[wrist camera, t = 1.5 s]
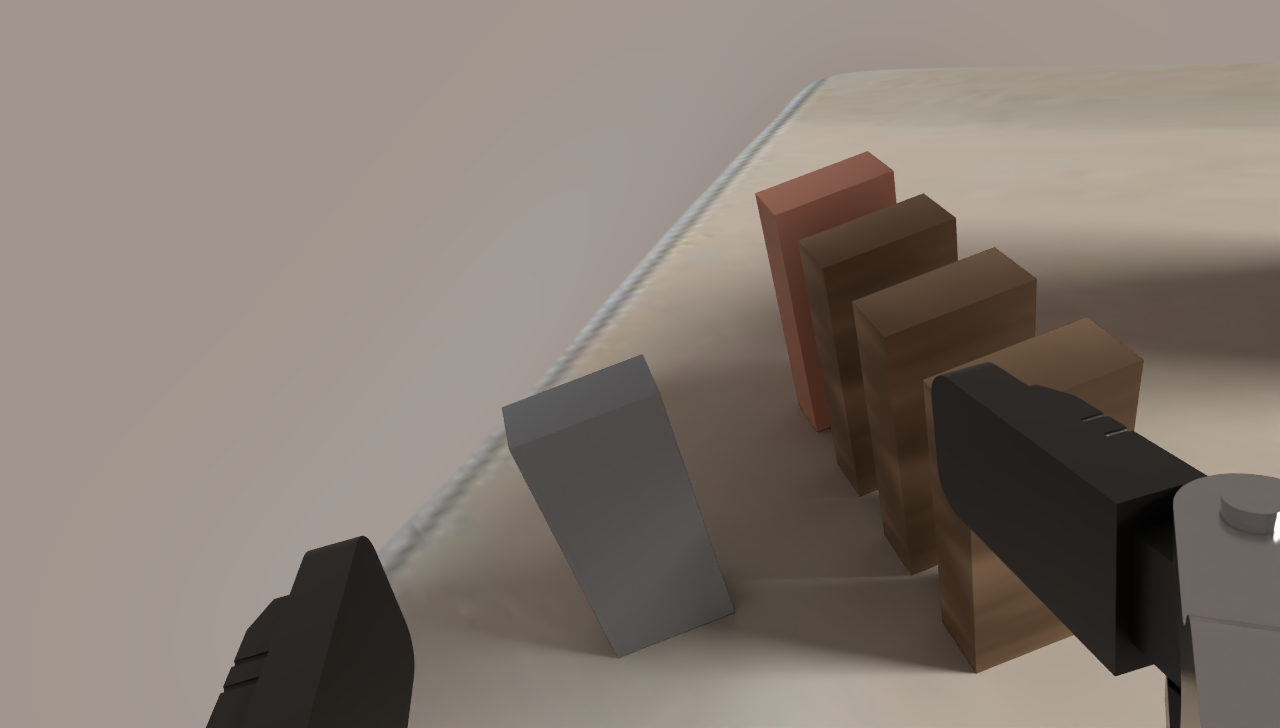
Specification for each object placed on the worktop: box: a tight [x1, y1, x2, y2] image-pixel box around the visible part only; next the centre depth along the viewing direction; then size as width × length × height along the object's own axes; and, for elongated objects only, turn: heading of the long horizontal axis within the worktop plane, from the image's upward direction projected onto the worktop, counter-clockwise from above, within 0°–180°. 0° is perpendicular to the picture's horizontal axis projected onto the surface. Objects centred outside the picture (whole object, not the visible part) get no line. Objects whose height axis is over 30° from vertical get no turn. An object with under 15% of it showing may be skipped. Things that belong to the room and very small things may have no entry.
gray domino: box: [502, 354, 735, 658], centre depth 30 cm, size 2×5×12 cm, turn 104°
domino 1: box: [755, 151, 896, 432], centre depth 37 cm, size 2×5×12 cm, turn 104°
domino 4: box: [923, 317, 1143, 673], centre depth 26 cm, size 2×5×12 cm, turn 104°
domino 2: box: [798, 193, 958, 496], centre depth 33 cm, size 2×5×12 cm, turn 104°
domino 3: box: [852, 247, 1037, 575], centre depth 29 cm, size 2×5×12 cm, turn 104°
